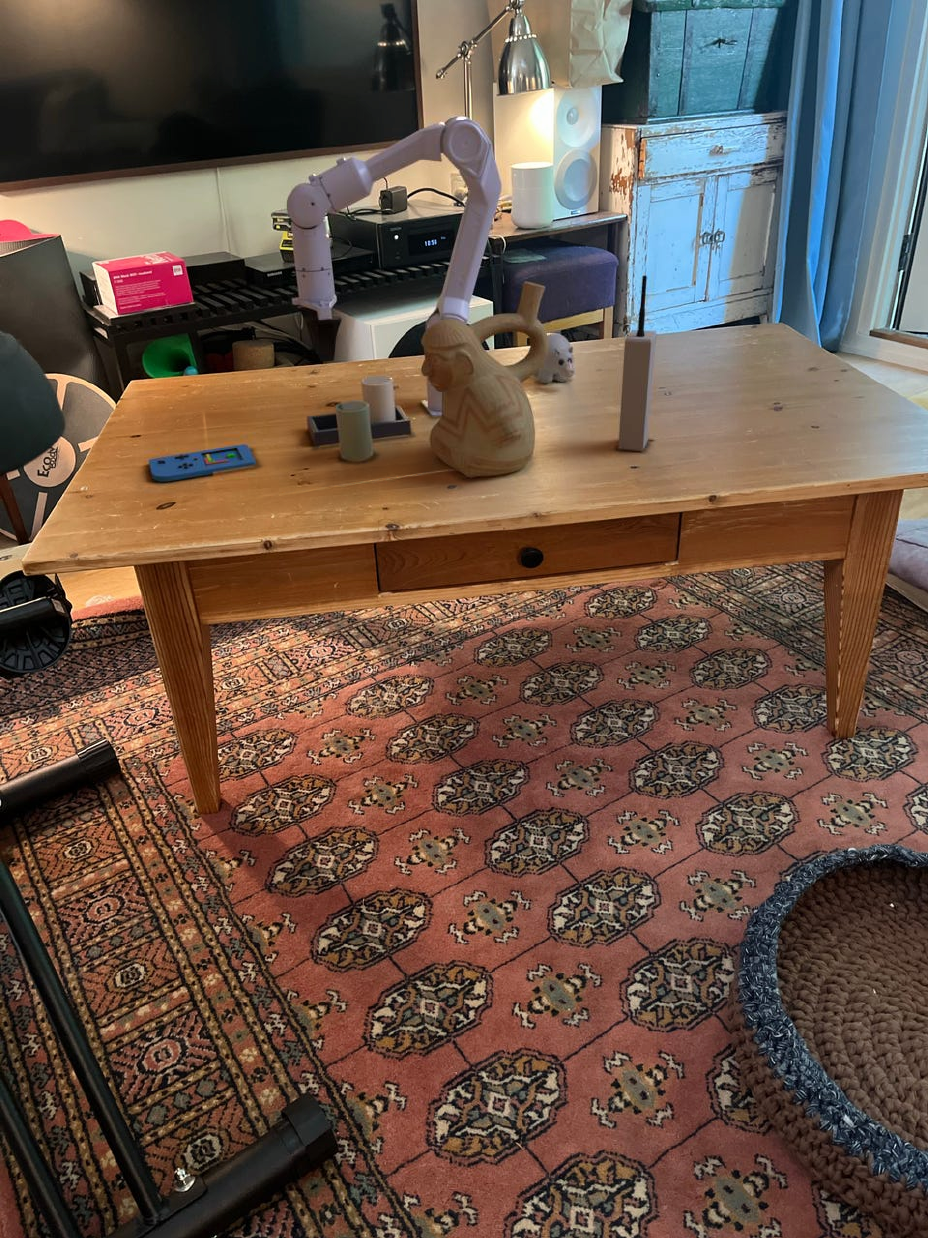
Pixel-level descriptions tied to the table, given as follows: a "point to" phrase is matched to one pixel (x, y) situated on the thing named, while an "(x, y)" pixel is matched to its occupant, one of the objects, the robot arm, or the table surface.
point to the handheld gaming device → (200, 463)
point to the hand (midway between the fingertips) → (323, 354)
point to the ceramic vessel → (484, 390)
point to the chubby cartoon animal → (557, 360)
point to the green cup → (354, 430)
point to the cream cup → (379, 398)
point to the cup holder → (327, 430)
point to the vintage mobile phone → (637, 383)
